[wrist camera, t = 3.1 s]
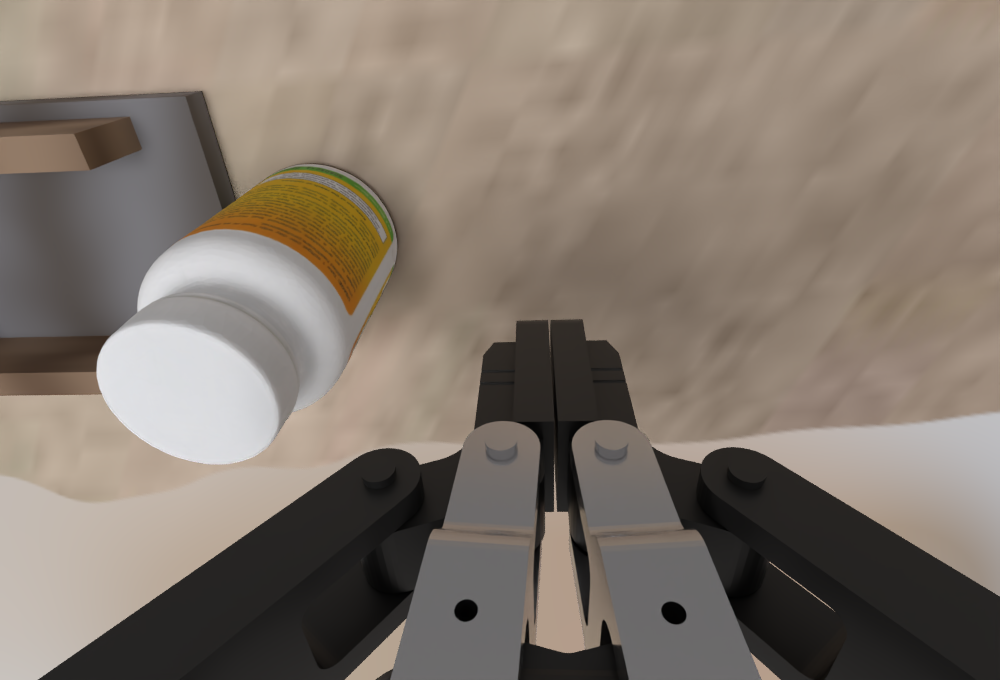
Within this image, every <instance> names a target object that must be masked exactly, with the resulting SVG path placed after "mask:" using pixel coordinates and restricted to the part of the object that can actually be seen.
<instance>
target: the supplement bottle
mask: <svg viewBox="0 0 1000 680" xmlns="http://www.w3.org/2000/svg"><path fill="white" fill-rule="evenodd" d="M396 255H397V238H396V232H395V229H394V225H393V222H392V220H391V217H390V215H389V213H388V211H387V209H386V208H385V206H384V205H383V203H382V202H381V200H380V199H379V198H378V197H377V195H376V194H375V193H374V192H373V191H372V190H371V189H370V188H369V187H368V186H367V185H365V184H364V183H363V182H362V181H360V180H359V179H357V178H356V177H354V176H352V175H350V174H348V173H346V172H344V171H342V170H339V169H336V168H333V167H329V166H325V165H318V164H302V165H295V166H291V167H288V168H285V169H282V170H280V171H278V172H276V173H274V174H273V175H271V176H269V177H268V178H266V179H264V180H263V181H262V182H260V183H259V184H258V185H256V186H255V187H254V188H252V189H251V190H250V191H248V192H247V193H245V194H244V195H243V196H241V197H240V198H238V199H237V200H236V201H234V202H233V203H231V204H230V205H229V206H227V207H226V208H224V209H223V210H222V211H220V212H219V213H217V214H216V215H215V216H213V217H212V218H210V219H209V220H208V221H206V222H205V223H204V224H202V225H201V226H199V227H198V228H196V229H195V230H193V231H192V232H191V233H189V234H188V235H186V236H185V237H183V238H182V239H180V240H179V241H177V242H176V243H175V244H173V245H172V246H171V247H170V248H169V249H168V250H166V251H165V252H164V253H163V254H162V255H161V256H160V257H159V258H158V259H157V260H156V261H155V262H154V263H153V264H152V266H151V267H150V269H149V270H148V272H147V273H146V275H145V277H144V279H143V282H142V284H141V287H140V290H139V295H138V303H137V313H136V314H135V315H134V316H133V317H131V318H130V319H129V320H128V321H127V322H126V323H125V324H124V325H123V326H121V327H120V328H119V329H118V330H117V331H116V332H115V333H114V334H112V335H111V336H110V337H109V338H108V339H107V341H106V342H105V344H104V345H103V347H102V349H101V351H100V354H99V356H98V359H97V380H98V384H99V389H100V391H101V393H102V395H103V397H104V399H105V401H106V403H107V405H108V406H109V408H110V410H111V411H112V412H113V413H114V414H115V416H116V417H117V418H118V419H119V420H120V421H121V422H122V423H123V424H124V425H125V426H126V427H127V428H128V429H129V430H130V431H131V432H133V433H134V434H135V435H136V436H138V437H139V438H140V439H142V440H143V441H145V442H147V443H148V444H150V445H151V446H153V447H155V448H157V449H159V450H161V451H163V452H165V453H167V454H170V455H172V456H175V457H178V458H181V459H184V460H188V461H192V462H197V463H204V464H231V463H236V462H241V461H244V460H247V459H249V458H252V457H254V456H256V455H258V454H259V453H261V452H262V451H264V450H265V449H266V448H267V447H268V446H269V445H270V444H271V443H272V442H273V440H274V439H275V437H276V436H277V434H278V432H279V431H280V429H281V428H282V426H283V424H284V423H285V421H286V420H287V419H288V417H289V416H290V414H291V413H292V412H295V411H298V410H301V409H303V408H306V407H308V406H310V405H311V404H313V403H315V402H316V401H318V400H319V399H320V398H322V397H323V396H324V395H325V394H326V393H327V392H328V391H329V390H330V389H331V388H332V387H333V386H334V384H335V383H336V382H337V380H338V379H339V377H340V375H341V374H342V372H343V370H344V369H345V367H346V365H347V363H348V361H349V359H350V357H351V355H352V353H353V351H354V349H355V347H356V345H357V343H358V341H359V338H360V336H361V334H362V332H363V330H364V328H365V326H366V324H367V323H368V321H369V318H370V316H371V315H372V313H373V311H374V309H375V307H376V304H377V303H378V301H379V299H380V297H381V295H382V293H383V291H384V289H385V287H386V285H387V283H388V281H389V278H390V276H391V274H392V271H393V268H394V265H395V261H396Z"/></svg>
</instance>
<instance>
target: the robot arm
mask: <svg viewBox="0 0 1000 680" xmlns="http://www.w3.org/2000/svg"><path fill="white" fill-rule="evenodd" d="M554 464H555V482H556V500H557V512H568V514H569V526H570V529H569V550H570V556H571V562H572V568H573V574H574V580H575V587H576V592H577V599H578V605H579V611H580V617H581V623H582V630H583V636H584V645H585V650H583V651H579V652H575V653H562V652H558V651H554V650H551V649H547V648H544V647H540V646H536V628H537V613H538V599H539V583H540V567H541V552H542V551H541V550H542V539H543V537H544V533H545V512H554ZM769 561H770V562H771V563H773V564H774V565H775V566H777V567H778V568H779V569H781V570H782V571H783V572H785V573H786V574H787V575H789V576H790V577H791V578H793V579H794V580H795V581H797V582H798V583H799V584H801V585H802V586H803V587H805V588H806V589H807V590H809V591H810V592H811V593H813V594H814V595H816V596H817V597H818V598H820V599H821V600H822V601H823V602H825V603H826V604H828V605H829V606H830V607H831V608H832V609H833V610H834V611H833V610H832V609H831V608H829V607H828V606H826V605H825V604H824V603H822V602H821V601H820V600H818V599H817V598H816V597H814V596H813V595H812V594H810V593H809V592H808V591H806V590H805V589H804V588H802V587H801V586H800V585H798V584H797V583H796V582H794V581H793V580H792V579H790V578H789V577H788V576H786V575H785V574H784V573H782V572H781V571H780V570H778V569H777V568H776V567H774V566H773V565H772V564H770V563H769ZM406 618H407V620H406V623H405V627H404V631H403V634H402V638H401V642H400V645H399V649H398V653H397V657H396V660H395V664H394V668H393V669H392V670H390V671H388V672H386V673H385V674H383V675H382V676H380V677H379V678H377V679H376V680H761V677H760V675H759V673H758V670H757V668H756V665H755V663H754V660H753V658H752V656H751V653H752V654H753V655H754V656H755V657H756V658H757V659H758V660H760V661H761V662H762V663H763V664H764V665H765V666H766V667H768V668H769V669H770V670H771V671H772V672H773V673H774V674H775V675H776V676H777V677H779V678H780V679H781V680H1000V596H998V595H996V594H995V593H993V592H991V591H990V590H988V589H986V588H985V587H983V586H981V585H980V584H978V583H976V582H975V581H973V580H971V579H970V578H968V577H966V576H965V575H963V574H961V573H960V572H958V571H957V570H955V569H953V568H952V567H950V566H948V565H947V564H945V563H943V562H942V561H940V560H938V559H937V558H935V557H933V556H932V555H930V554H928V553H927V552H925V551H923V550H922V549H920V548H918V547H917V546H915V545H913V544H912V543H910V542H908V541H907V540H905V539H903V538H902V537H900V536H899V535H896V534H895V533H894V532H892V531H890V530H889V529H887V528H885V527H884V526H882V525H880V524H879V523H877V522H875V521H874V520H872V519H870V518H869V517H867V516H865V515H864V514H862V513H860V512H859V511H857V510H855V509H854V508H852V507H850V506H849V505H847V504H845V503H844V502H842V501H841V500H839V499H837V498H836V497H834V496H832V495H831V494H829V493H827V492H826V491H824V490H822V489H820V488H819V487H817V486H816V485H814V484H812V483H811V482H809V481H807V480H806V479H804V478H802V477H801V476H799V475H797V474H796V473H794V472H792V471H791V470H789V469H787V468H786V467H784V466H783V465H781V464H779V463H777V462H776V461H774V460H773V459H771V458H769V457H767V456H765V455H763V454H761V453H759V452H756V451H753V450H749V449H744V448H736V447H731V448H722V449H718V450H715V451H713V452H711V453H710V454H708V455H707V456H706V457H705V458H704V460H703V462H702V464H700V463H696V462H691V461H687V460H683V459H678V458H675V457H671V456H669V455H666V454H663V453H662V452H660V451H658V450H656V449H655V448H653V447H652V446H651V444H650V442H649V440H648V438H647V437H646V436H645V434H644V433H642V432H641V431H640V430H639V429H638V427H637V423H636V419H635V415H634V411H633V407H632V403H631V399H630V395H629V391H628V388H627V384H626V380H625V376H624V372H623V369H622V364H621V360H620V356H619V353H618V352H617V351H616V350H615V349H614V348H613V347H612V346H611V345H610V344H609V343H608V342H607V341H606V340H600V341H586V337H585V331H584V325H583V320H582V319H575V320H551V322H550V345H549V329H548V320H533V321H517V324H516V342H498V343H493V345H492V346H491V347H490V348H489V349H488V351H487V352H486V353H485V354H484V355H483V363H482V373H481V379H480V387H479V396H478V404H477V412H476V420H475V428H474V431H472V432H471V433H470V434H469V435H468V436H467V438H466V440H465V442H464V444H463V448H462V449H461V450H460V451H458V452H457V453H455V454H453V455H451V456H449V457H447V458H444V459H440V460H437V461H433V462H429V463H425V464H422V465H419V463H418V461H417V460H416V458H415V457H414V456H412V455H411V454H410V453H408V452H406V451H403V450H399V449H392V448H386V449H378V450H373V451H370V452H367V453H365V454H363V455H361V456H359V457H358V458H356V459H354V460H353V461H352V462H350V463H349V464H347V465H346V466H344V467H343V468H341V469H340V470H339V471H337V472H336V473H334V474H333V475H331V476H330V477H329V478H327V479H326V480H324V481H323V482H321V483H320V484H318V485H317V486H316V487H314V488H313V489H312V490H310V491H308V492H307V493H306V494H304V495H303V496H301V497H300V498H298V499H297V500H295V501H294V502H293V503H291V504H290V505H288V506H287V507H285V508H284V509H283V510H281V511H280V512H278V513H277V514H275V515H274V516H273V517H271V518H270V519H268V520H267V521H265V522H264V523H262V524H261V525H260V526H258V527H257V528H255V529H254V530H252V531H251V532H249V533H248V534H247V535H245V536H244V537H242V538H241V539H239V540H238V541H237V542H235V543H234V544H232V545H231V546H229V547H228V548H227V549H225V550H224V551H222V552H221V553H219V554H218V555H216V556H215V557H214V558H212V559H211V560H209V561H208V562H207V563H205V564H204V565H202V566H201V567H199V568H198V569H196V570H195V571H194V572H192V573H191V574H189V575H188V576H186V577H185V578H183V579H182V580H181V581H179V582H178V583H176V584H175V585H173V586H172V587H170V588H169V589H168V590H166V591H165V592H163V593H162V594H160V595H159V596H158V597H156V598H155V599H153V600H152V601H150V602H149V603H148V604H146V605H145V606H143V607H142V608H140V609H139V610H138V611H136V612H135V613H134V614H132V615H130V616H129V617H127V618H126V619H125V620H123V621H122V622H120V623H119V624H117V625H116V626H114V627H113V628H112V629H110V630H109V631H107V632H106V633H104V634H103V635H102V636H100V637H99V638H97V639H96V640H94V641H93V642H91V643H90V644H89V645H87V646H86V647H84V648H83V649H81V650H80V651H79V652H77V653H76V654H74V655H73V656H72V657H70V658H68V659H67V660H66V661H64V662H63V663H61V664H60V665H58V666H57V667H56V668H54V669H53V670H51V671H50V672H48V673H47V674H46V675H44V676H43V677H41V678H40V679H38V680H345V679H346V678H347V677H348V676H349V675H350V674H351V673H352V672H353V671H354V670H355V669H356V668H357V667H358V666H359V665H360V664H361V663H362V662H363V661H364V660H365V659H366V658H367V657H368V656H369V655H370V654H371V653H372V652H373V651H374V650H375V649H376V648H377V647H378V646H379V645H380V644H381V643H382V642H383V641H384V640H385V639H386V638H387V637H388V636H389V635H390V634H391V633H392V632H393V631H394V630H395V629H396V628H397V627H398V626H399V625H400V624H401V623H402V622H403V621H404V620H405V619H406ZM750 652H751V653H750Z"/></svg>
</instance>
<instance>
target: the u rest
mask: <svg viewBox="0 0 1000 680" xmlns="http://www.w3.org/2000/svg"><path fill="white" fill-rule="evenodd" d="M234 201H236V200H235V197H234V194H233V191H232V187H231V184H230V181H229V178H228V175H227V171H226V168H225V165H224V162H223V158H222V155H221V152H220V149H219V146H218V142H217V139H216V136H215V133H214V130H213V126H212V123H211V120H210V117H209V113H208V110H207V107H206V104H205V101H204V97H203V94H202V91H199V92H179V93H159V94H139V95H118V96H98V97H78V98H58V99H37V100H17V101H0V396H5V395H91V394H102V393H101V391H100V389H99V384H98V380H97V359H98V356H99V354H100V351H101V349H102V347H103V345H104V344H105V342H106V341H107V339H108V338H109V337H110V336H111V335H112V334H114V333H115V332H116V331H117V330H118V329H119V328H120V327H121V326H123V325H124V324H125V323H126V322H127V321H128V320H129V319H130V318H131V317H133V316H134V315H135V314H136V313H137V303H138V295H139V290H140V287H141V284H142V282H143V279H144V277H145V275H146V273H147V272H148V270H149V269H150V267H151V266H152V264H153V263H154V262H155V261H156V260H157V259H158V258H159V257H160V256H161V255H162V254H163V253H164V252H165V251H166V250H168V249H169V248H170V247H171V246H172V245H173V244H175V243H176V242H177V241H179V240H180V239H182V238H183V237H185V236H186V235H188V234H189V233H191V232H192V231H193V230H195V229H196V228H198V227H199V226H201V225H202V224H204V223H205V222H206V221H208V220H209V219H210V218H212V217H213V216H215V215H216V214H217V213H219V212H220V211H222V210H223V209H224V208H226V207H227V206H229V205H230V204H231V203H233V202H234Z"/></svg>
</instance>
